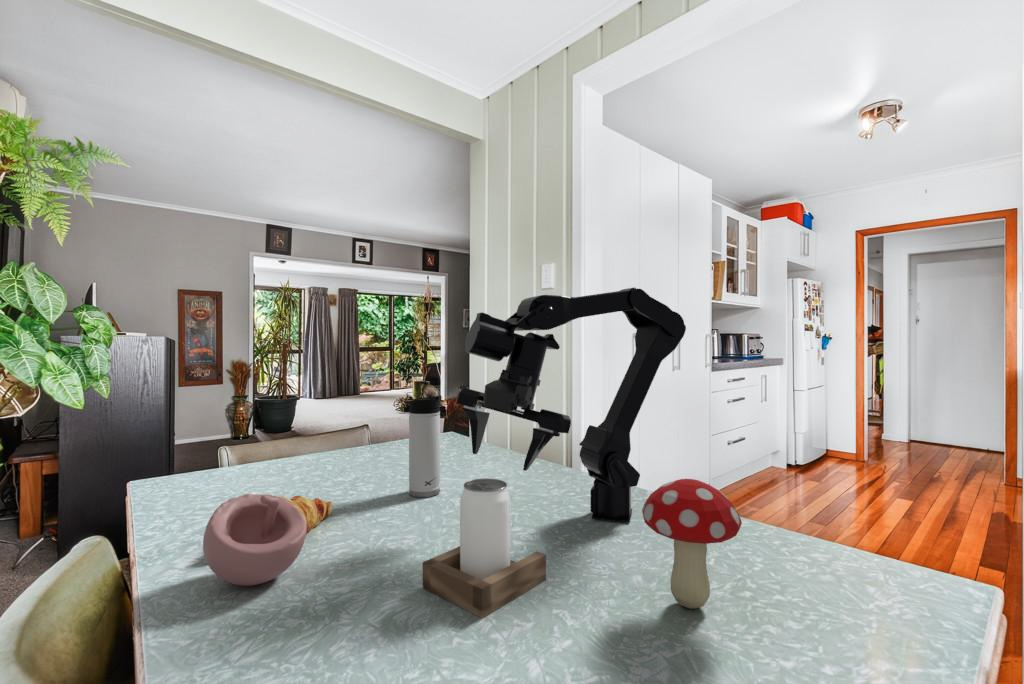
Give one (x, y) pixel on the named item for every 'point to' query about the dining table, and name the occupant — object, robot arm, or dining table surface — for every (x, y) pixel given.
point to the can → (484, 527)
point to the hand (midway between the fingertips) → (499, 461)
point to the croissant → (311, 509)
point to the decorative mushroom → (691, 532)
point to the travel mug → (424, 446)
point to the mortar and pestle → (253, 538)
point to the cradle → (481, 581)
